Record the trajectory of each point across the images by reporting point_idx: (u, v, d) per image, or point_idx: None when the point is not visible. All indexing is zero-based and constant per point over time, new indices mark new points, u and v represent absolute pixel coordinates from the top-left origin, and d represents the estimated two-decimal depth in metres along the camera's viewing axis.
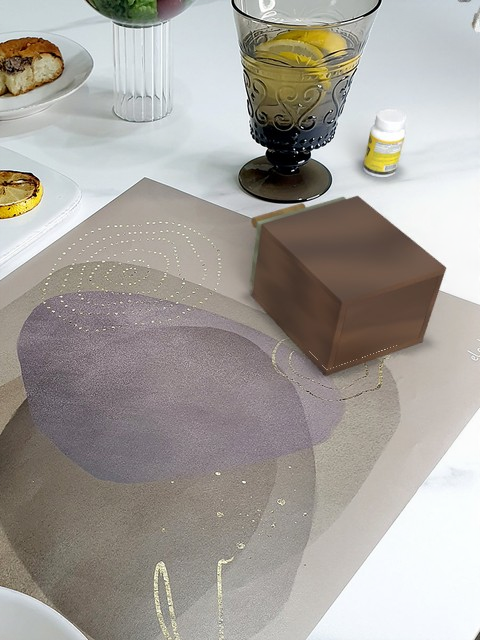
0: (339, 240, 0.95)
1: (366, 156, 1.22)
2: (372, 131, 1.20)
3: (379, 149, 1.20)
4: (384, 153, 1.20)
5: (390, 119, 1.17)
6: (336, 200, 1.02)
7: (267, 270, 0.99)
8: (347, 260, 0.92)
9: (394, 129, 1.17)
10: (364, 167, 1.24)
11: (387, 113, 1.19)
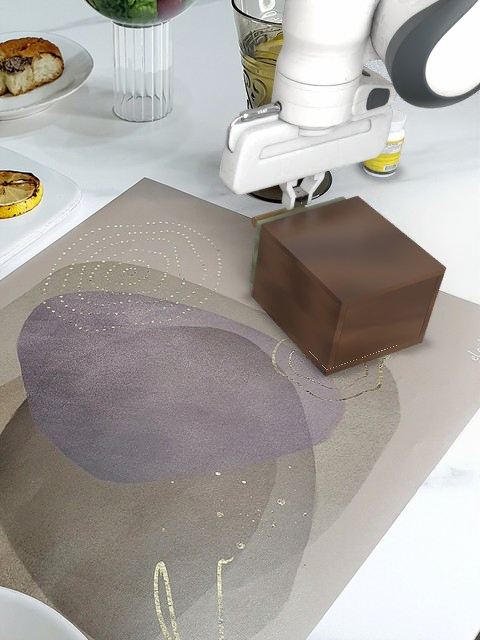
0: (339, 240, 0.95)
1: None
2: None
3: None
4: (384, 153, 1.20)
5: None
6: (336, 200, 1.02)
7: (267, 270, 0.99)
8: (347, 260, 0.92)
9: (393, 129, 1.17)
10: (364, 167, 1.24)
11: None
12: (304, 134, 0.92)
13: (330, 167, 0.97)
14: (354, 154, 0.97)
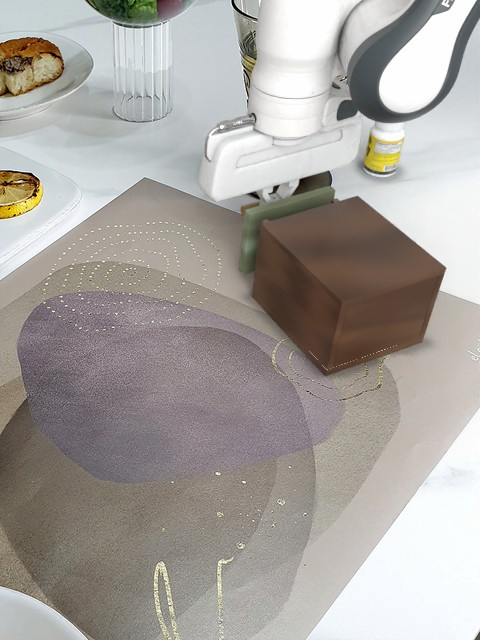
0: (339, 240, 0.95)
1: (366, 156, 1.22)
2: (372, 131, 1.20)
3: (379, 149, 1.20)
4: (384, 153, 1.20)
5: None
6: (323, 189, 1.04)
7: (267, 270, 0.99)
8: (347, 260, 0.92)
9: (393, 129, 1.17)
10: (364, 167, 1.24)
11: None
12: (278, 144, 0.97)
13: (304, 174, 1.02)
14: (327, 162, 1.02)
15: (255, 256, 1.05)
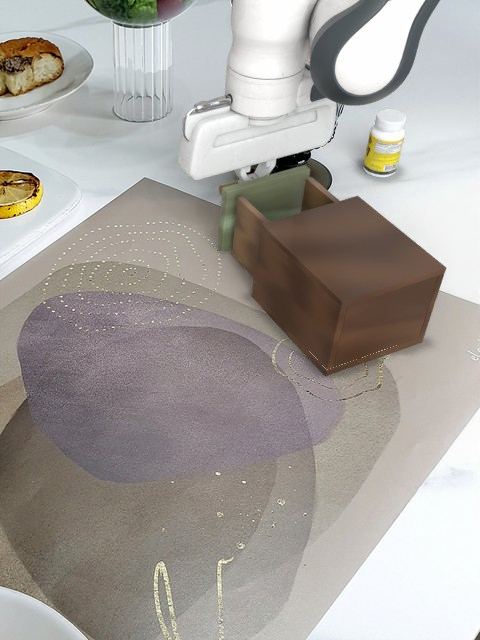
0: (339, 240, 0.95)
1: (366, 156, 1.22)
2: (372, 131, 1.20)
3: (379, 149, 1.20)
4: (384, 153, 1.20)
5: (390, 119, 1.17)
6: (298, 168, 1.07)
7: (267, 270, 0.99)
8: (347, 260, 0.92)
9: (393, 129, 1.17)
10: (364, 167, 1.24)
11: (387, 113, 1.19)
12: (254, 124, 1.00)
13: (280, 154, 1.06)
14: (302, 142, 1.06)
15: (233, 234, 1.09)
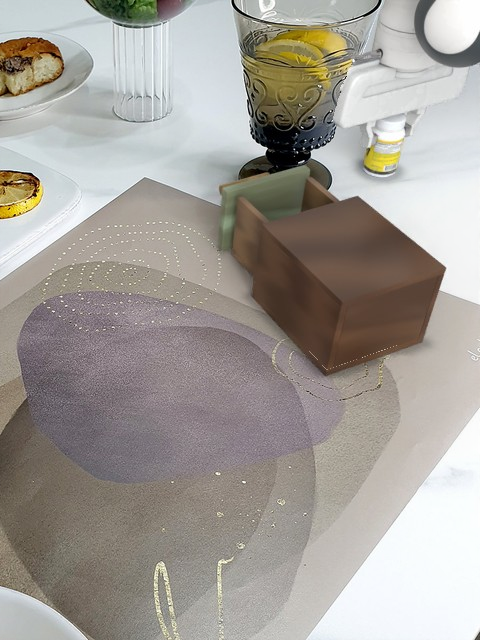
0: (339, 240, 0.95)
1: (366, 156, 1.22)
2: None
3: (379, 149, 1.20)
4: (384, 153, 1.20)
5: (390, 119, 1.17)
6: (298, 168, 1.07)
7: (267, 270, 0.99)
8: (347, 260, 0.92)
9: (393, 129, 1.17)
10: (364, 167, 1.24)
11: None
12: (400, 76, 1.11)
13: (418, 106, 1.17)
14: (438, 95, 1.17)
15: (233, 234, 1.09)
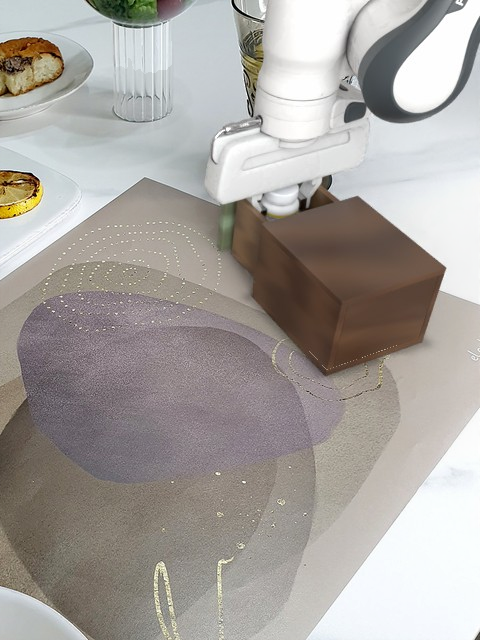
0: (339, 240, 0.95)
1: None
2: None
3: None
4: None
5: (279, 191, 1.02)
6: None
7: (267, 270, 0.99)
8: (347, 260, 0.92)
9: (284, 203, 1.02)
10: None
11: None
12: (285, 146, 0.96)
13: (311, 177, 1.01)
14: (334, 164, 1.01)
15: (233, 233, 1.09)
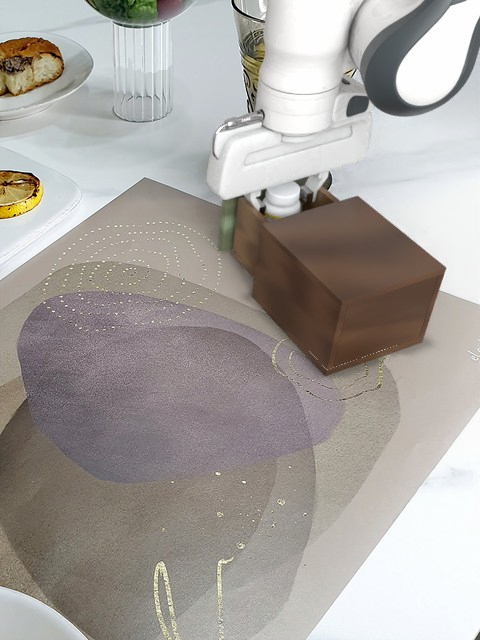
0: (339, 240, 0.95)
1: None
2: None
3: None
4: None
5: (281, 192, 1.02)
6: None
7: (267, 270, 0.99)
8: (347, 260, 0.92)
9: (285, 204, 1.02)
10: None
11: None
12: (287, 141, 0.95)
13: (313, 172, 1.01)
14: (336, 159, 1.01)
15: (233, 234, 1.09)
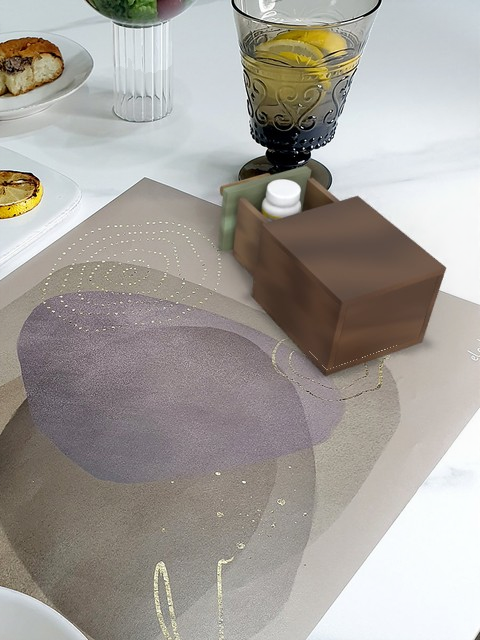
0: (339, 240, 0.95)
1: None
2: (263, 205, 1.04)
3: None
4: None
5: (281, 193, 1.02)
6: (299, 169, 1.07)
7: (267, 270, 0.99)
8: (347, 260, 0.92)
9: (286, 204, 1.02)
10: None
11: (279, 185, 1.03)
12: None
13: None
14: None
15: (234, 235, 1.09)
